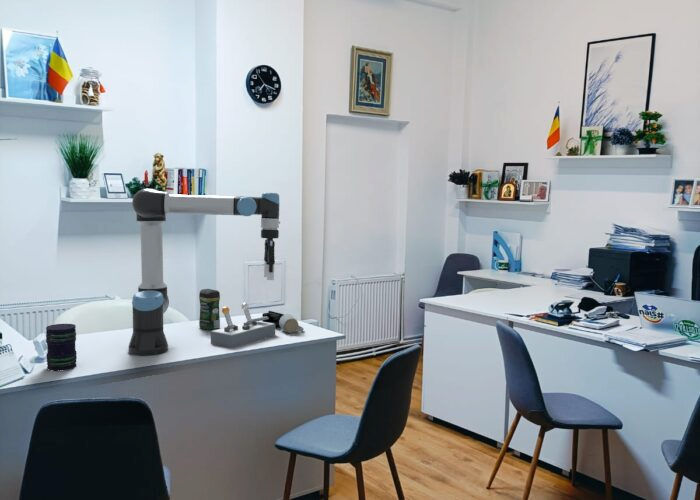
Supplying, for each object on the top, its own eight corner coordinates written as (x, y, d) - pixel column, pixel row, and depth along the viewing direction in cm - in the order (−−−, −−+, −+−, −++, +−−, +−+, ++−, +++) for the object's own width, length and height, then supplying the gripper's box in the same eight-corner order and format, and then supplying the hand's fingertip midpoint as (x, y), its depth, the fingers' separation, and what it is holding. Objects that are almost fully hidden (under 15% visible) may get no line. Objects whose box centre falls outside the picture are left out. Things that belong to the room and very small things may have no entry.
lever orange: (226, 331, 263) (219, 308, 264) (232, 329, 266) (225, 307, 267) (231, 329, 261) (223, 306, 263) (237, 327, 264) (229, 305, 266)
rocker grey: (251, 321, 279) (251, 318, 279) (258, 320, 283) (257, 317, 283) (262, 320, 275) (261, 317, 276) (268, 318, 279) (268, 315, 279)
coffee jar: (196, 328, 291) (196, 288, 289) (209, 325, 297) (209, 287, 295) (209, 331, 285) (209, 291, 283) (222, 328, 291) (222, 289, 289)
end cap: (286, 326, 297) (286, 313, 297) (274, 329, 292) (274, 314, 292) (273, 323, 304) (273, 309, 304) (261, 325, 299) (261, 311, 299)
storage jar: (49, 372, 217) (48, 330, 216) (44, 366, 225) (43, 325, 223) (79, 368, 223) (78, 327, 221) (73, 362, 231) (72, 322, 229)
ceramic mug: (284, 334, 281) (284, 317, 281) (278, 330, 289) (279, 314, 288) (306, 333, 286) (306, 316, 285) (300, 329, 293) (300, 313, 292)
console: (210, 343, 263) (210, 327, 262) (255, 331, 286) (255, 316, 285) (231, 347, 256) (231, 331, 255) (275, 335, 279) (275, 320, 279)
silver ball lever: (245, 326, 273) (238, 304, 274) (251, 325, 276) (244, 303, 277) (250, 324, 271) (243, 302, 273) (256, 322, 274) (249, 301, 276)
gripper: (282, 229, 254) (280, 281, 255) (275, 228, 278) (274, 275, 279) (263, 229, 252) (262, 281, 253) (258, 228, 276) (257, 275, 277)
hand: (268, 278), depth 266 cm, fingers open, 13 cm apart
